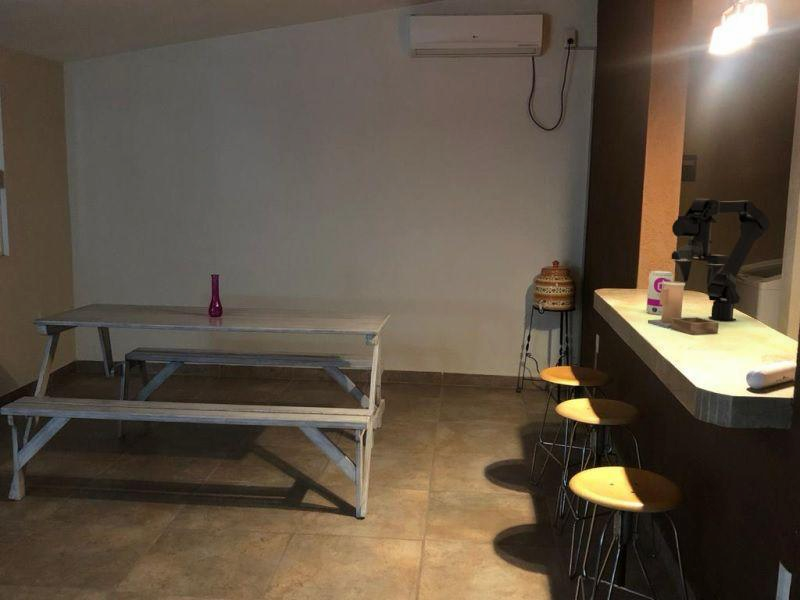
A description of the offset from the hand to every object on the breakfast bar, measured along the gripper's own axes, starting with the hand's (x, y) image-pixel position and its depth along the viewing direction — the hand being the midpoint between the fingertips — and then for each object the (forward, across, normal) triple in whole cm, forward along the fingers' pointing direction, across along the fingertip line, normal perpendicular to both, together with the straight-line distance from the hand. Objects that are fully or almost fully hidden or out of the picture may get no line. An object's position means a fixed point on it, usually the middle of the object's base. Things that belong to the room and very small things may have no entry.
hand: (697, 283), depth 257 cm
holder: (+13, +12, -15) cm, 24 cm away
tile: (+13, +2, -13) cm, 19 cm away
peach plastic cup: (+12, +2, -14) cm, 19 cm away
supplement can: (+13, -17, +2) cm, 22 cm away
